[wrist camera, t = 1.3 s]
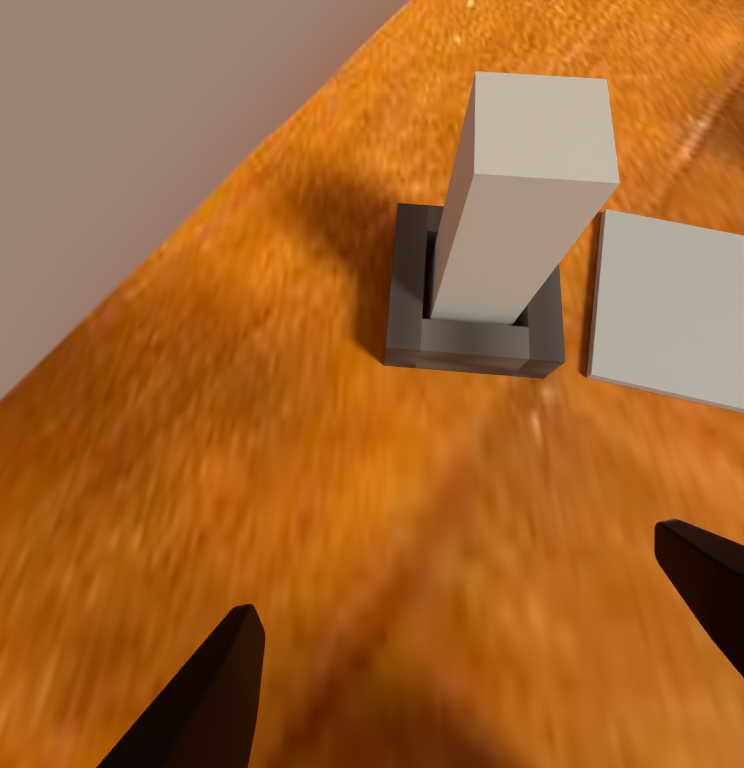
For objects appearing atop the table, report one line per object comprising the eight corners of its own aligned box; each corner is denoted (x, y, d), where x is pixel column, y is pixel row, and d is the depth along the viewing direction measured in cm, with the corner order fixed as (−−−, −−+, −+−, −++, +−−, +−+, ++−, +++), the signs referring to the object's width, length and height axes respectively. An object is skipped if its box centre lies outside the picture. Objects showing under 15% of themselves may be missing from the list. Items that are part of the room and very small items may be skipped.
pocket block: (537, 244, 28) (555, 214, 25) (543, 378, 25) (565, 361, 22) (395, 233, 28) (397, 203, 25) (384, 365, 25) (385, 347, 22)
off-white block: (501, 272, 27) (606, 79, 15) (501, 338, 26) (619, 183, 13) (429, 267, 28) (475, 71, 15) (426, 332, 26) (474, 173, 14)
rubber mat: (757, 245, 28) (765, 240, 27) (766, 418, 24) (775, 416, 24) (601, 214, 29) (605, 209, 28) (586, 377, 25) (591, 374, 24)
